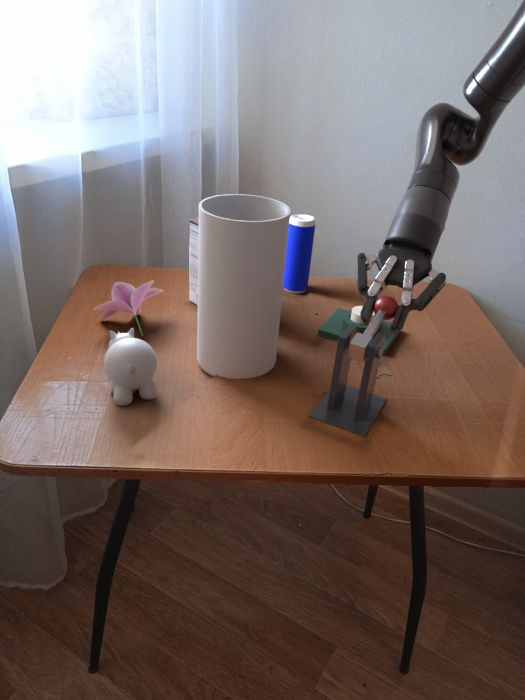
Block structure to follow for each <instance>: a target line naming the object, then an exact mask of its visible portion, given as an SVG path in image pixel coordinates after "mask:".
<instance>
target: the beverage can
mask: <svg viewBox="0 0 525 700" xmlns="http://www.w3.org/2000/svg"><path fill="white" fill-rule="evenodd" d="M315 231H316V219H315V217H314V216H312V215H310V214H305V213H295V214H292V215H290V221H289V231H288V242H287V252H286V262H285V272H284V283H283V290H284V291H286V292H287V293H290V294H302V293H305V292H306V291H307V290H308V288H309V279H310V274H311V273H310V272H311V263H312V256H313V255H312V254H313V247H314V238H315Z"/></svg>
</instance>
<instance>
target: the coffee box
mask: <svg viewBox="0 0 525 700" xmlns="http://www.w3.org/2000/svg"><path fill="white" fill-rule="evenodd" d="M198 233H199V217H195V218H190V219H188V260H189V261H188V262H189V263H188V264H189V265H188V266H189V268H188V269H189V270H188V271H189V272H188V274H189V277H188V279H189V280H188V281H189V282H188V284H189V285H188V287H189V288H188V289H189V290H188V291H189V301H190V302H191V303H193V304H194V305H196V306H198Z"/></svg>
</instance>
